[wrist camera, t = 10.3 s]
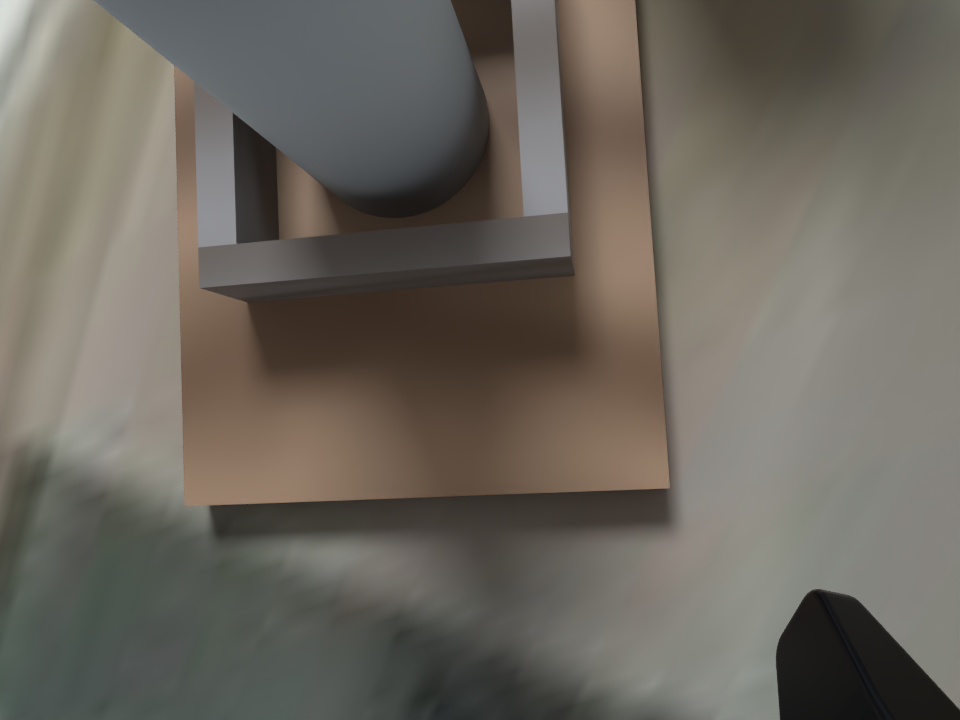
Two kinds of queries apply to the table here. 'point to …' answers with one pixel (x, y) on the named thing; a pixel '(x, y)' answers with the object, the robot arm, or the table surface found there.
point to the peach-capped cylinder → (337, 88)
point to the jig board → (432, 293)
